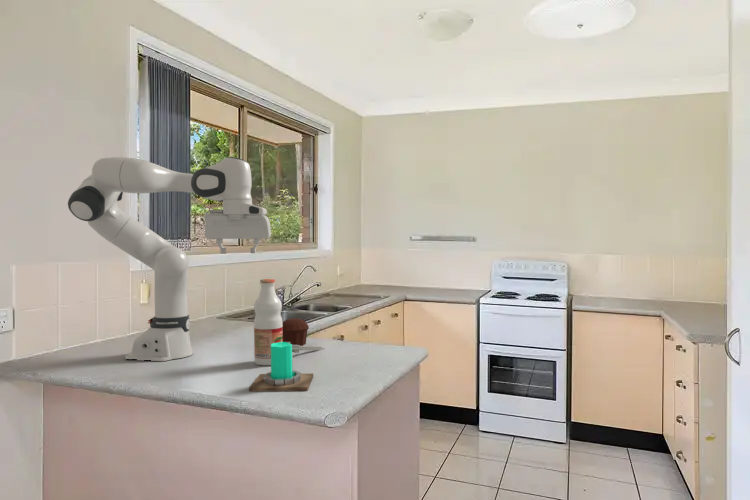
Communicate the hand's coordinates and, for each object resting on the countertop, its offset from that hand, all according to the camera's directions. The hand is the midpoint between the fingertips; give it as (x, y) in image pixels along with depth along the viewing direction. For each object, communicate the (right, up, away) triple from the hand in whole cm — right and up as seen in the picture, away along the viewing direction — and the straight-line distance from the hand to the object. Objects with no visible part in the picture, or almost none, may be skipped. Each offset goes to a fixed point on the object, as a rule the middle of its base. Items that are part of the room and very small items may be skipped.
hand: (238, 253), depth 164 cm
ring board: (+16, -37, -14) cm, 43 cm away
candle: (+16, -37, -14) cm, 43 cm away
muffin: (+11, -36, +40) cm, 55 cm away
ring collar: (+16, -37, -14) cm, 43 cm away
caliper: (+18, -37, +23) cm, 47 cm away
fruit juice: (+7, -37, +11) cm, 39 cm away
